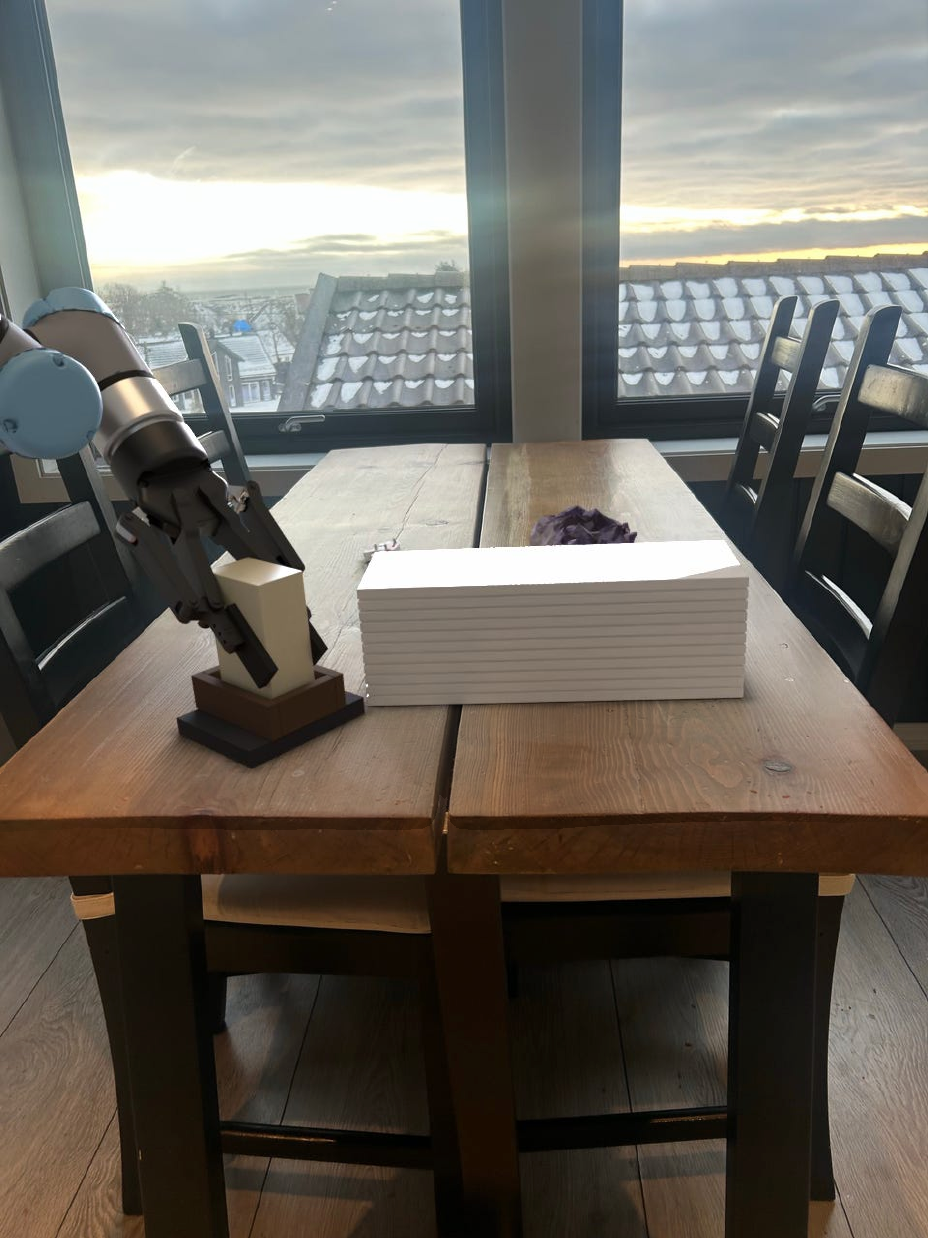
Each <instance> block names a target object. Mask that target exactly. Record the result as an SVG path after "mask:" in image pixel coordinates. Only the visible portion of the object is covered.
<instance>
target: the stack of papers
mask: <svg viewBox="0 0 928 1238" xmlns="http://www.w3.org/2000/svg"><path fill="white" fill-rule="evenodd" d="M749 588H750V577H749V575H748V573H747V572H746V570H745V569H744V567H743V565H742V564H741V562H740V561H739V560H738V558H737V556H736V555H735V553H734V552H733V551H732V549H731V547H730V546H729V544H728V543H727V542H726V540H725V539H722V540H721V539H720V540H693V541H691V540H689V541H665V542H662V541H661V542H634V543H631V544H602V545H576V546H575V545H573V546H546V547H544V546H543V547H531V546H525V547H524V546H520V547H519V546H518V547H517V546H516V547H495V548H493V547H490V548H489V547H488V548H486V547H485V548H461V549H459V548H458V549H457V548H456V549H432V550H431V549H430V550H429V549H428V550H422V551H421V550H412V551H411V550H403V551H398V552H375V553H374V555H373V557H372V559H371V561H369V563H368V566H367V568H366V570H365V571H364V574H363V576H362V578H361V580H360V582H359V584H358V585H357V588H356V598H357V600H358V601H357V606H358V607H357V609H358V611H359V612H358V619H359V630H360V640H361V643H362V644H361V651H362V654H363V655H362V660H363V664H364V665H363V671H364V683H365V692H366V693H365V694H366V703H367V707H389V706H431V705H432V706H433V705H437V706H438V705H475V704H476V705H477V704H479V705H480V704H520V703H523V704H525V703H527V704H528V703H563V702H565V703H566V702H568V703H569V702H608V701H609V702H611V701H648V700H649V701H651V700H654V701H655V700H693V699H694V700H696V699H698V700H699V699H700V700H701V699H735V698H736V699H737V698H739V699H740V698H741V699H742V698H744V689H745V688H744V686H745V670H746V667H745V664H746V652H747V651H746V649H747V646H746V643H747V629H748V623H747V621H748V609H749V601H748V600H749Z"/></svg>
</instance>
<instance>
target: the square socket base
mask: <svg viewBox="0 0 928 1238" xmlns="http://www.w3.org/2000/svg"><path fill="white" fill-rule="evenodd" d="M313 668H314V677H315V680H314V681H312V682H309V683H307V684H305V685H303V686H300V687H298V688H296V689H293V690H291V691H289V692H287V693H284V694H282V695H280V696H277V697H275V698H273V699H271V700H270V699H268V698H265V697H263V696H260V695H258V694H255V693H253V692H250V691H248V690H245V689H242V688H240V687H237V686H235V685H232V684H230V683H227V682H225V681H222V680H221V673H220V666H219V664H218V665H216V666H213V667H210V668H208V669H205V670H203V671H199V672H197V673H195V674H192V675H191V677H190V678H191V682H192V690H193V696H194V702H195V707H196V709H194V710H192V711H189V712H187V713H184V714H182V715H180V716H177V717H176V724H177V730H178V734H179V735H180V736H184V737H185V738H188V739H190V740H192V741H194V742H196V743H197V744H200V745H202V746H204V747H206V748H209V749H210V750H212V751H215V752H216V753H219V754H221V755H223V756H225V757H227V758H229V759H232V760H234V761H236V762H238V763H240V764H242V765H243V766H246V767H248V768H250V769H253V768H255V767H257V766H259V765H262V764H264V763H265V762H267V761H269V760H271V759H274V758H276V757H278V756H279V755H282V754H284V753H286V752H288V751H290V750H292V749H294V748H296V747H298V746H300V745H302V744H304V743H306V742H308V741H310V740H312V739H314V738H316V737H319V736H321V735H323V734H326V733H327V732H329V731H331V730H333V729H335V728H338V727H339V726H341V725H343V724H345V723H348V722H349V721H352V720H353V719H355V718H358V717H359V716H361V715H363V714H365V713H366V707H365V698H364V696H361V695H358V694H356V693H353V692H350V691H347V690H346V688H345V687H346V686H345V676H344V673H342V672H340V671H337V670H333V669H331V668H327V667H324V666H323V665H319V664H316V665H314V666H313Z"/></svg>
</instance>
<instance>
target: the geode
mask: <svg viewBox="0 0 928 1238" xmlns="http://www.w3.org/2000/svg"><path fill="white" fill-rule="evenodd" d="M637 536H638V531H632V532H631V528H630V525H629V523H628V522H623V523H621V522H620V521H619V520H616V519H614V518H612V517H611V518H610V517H608V516H606V515H605V514H603V513H602V512H601V511H600V510H598V509H597V508H593V509H590V510H586V508H584V507H583V506H580V505H573V506H570V507H568V508H565V509H563V510H562V511H561V512H559V513H558V514H543V515H541V516H539V518H538V519H537V520H536V522H535V524H534V526H533V528H532V530H531V532H530V536H528V541H529V544H530V547H543V546H544V547H546V546H573V545H575V546H576V545H602V544H631V543H635V540H636V538H637Z"/></svg>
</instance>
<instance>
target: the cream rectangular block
mask: <svg viewBox="0 0 928 1238" xmlns="http://www.w3.org/2000/svg"><path fill="white" fill-rule="evenodd" d="M211 569H212V571H213V574H214V576H215V579H216V582H217V584H218V587H219V589H220V592H221V595H222V597H223V600H224V608H225V609H226V607H227V606H228V605H230V604H233V603H235V604H236V605H237V607H238V608H239V610H240V611H241V613H242V614H243V616H244V617H245V619H246V620H247V622H248V624H249V625H250V627H251V628H252V630H253V631H254V633H255V634H256V636H257V637H258V639H259V640H260V642H261V643H262V645H263V647H264V648H265V650H266V651H267V652H268V654H269V655H270V657H271V658H272V660H273V661H274V663H275V664H276V666H277V667H278V669H279V670H278V671H277V672H276V674H275V675H274V677H273V678H272V679H271V681H270V682H269V683H268V684H267V686H265V687H263V688H261V689H259V688H258V687H257V685H256V684H255V682H254V681H253V679H252V677H251V676H250V674H249V673H248V671H247V670H246V668H245V667H244V665H243V663H242V662H241V660H240V659H239V657H238V656H237V654H236V653H232V654H229V653H227V652H226V651H225V650H224V649H223V647H222V646H221V644H220V642H219V641H218V639H217V638H216V636H215V635H214V639H215V640H214V641H215V645H216V652H217V659H218V665H219V666H220V673H221V680H222V681H225V682H227V683H230V684H232V685H235V686H237V687H240V688H242V689H245V690H248V691H250V692H253V693H255V694H258V695H260V696H263V697H265V698H268V699H270V700H271V699H273V698H275V697H277V696H280V695H282V694H284V693H287V692H289V691H291V690H293V689H296V688H298V687H300V686H303V685H305V684H307V683H309V682H312V681H314V680H315V677H314V668H313V660H312V651H311V643H310V634H309V625H308V616H307V608H306V605H307V600H306V592H305V591H306V590H305V583H304V574H303V573H304V572H303V573H302V571H300V570H296V569H292V568H288V567H285V566H281V565H277V564H273V563H269V562H265V561H261V560H257V559H253V558H249V557H248V558H245V559H242V560H238V561H236V560H235V561H232V562H229V563H226V564H222V565H220V566H215V567H213V568H211Z"/></svg>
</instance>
